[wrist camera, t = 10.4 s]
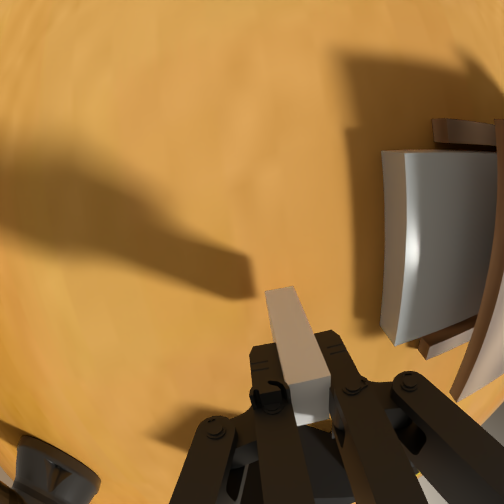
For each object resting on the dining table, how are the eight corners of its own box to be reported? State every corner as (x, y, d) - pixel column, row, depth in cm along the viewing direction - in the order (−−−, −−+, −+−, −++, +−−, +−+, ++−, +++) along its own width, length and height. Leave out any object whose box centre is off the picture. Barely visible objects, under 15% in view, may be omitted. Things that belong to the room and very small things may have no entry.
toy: (366, 513, 28) (213, 528, 17) (352, 477, 35) (207, 463, 24) (447, 467, 24) (346, 485, 13) (426, 430, 32) (314, 398, 21)
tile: (376, 321, 19) (394, 346, 16) (377, 150, 15) (404, 152, 12) (505, 276, 19) (524, 290, 16) (517, 153, 15) (541, 158, 12)
